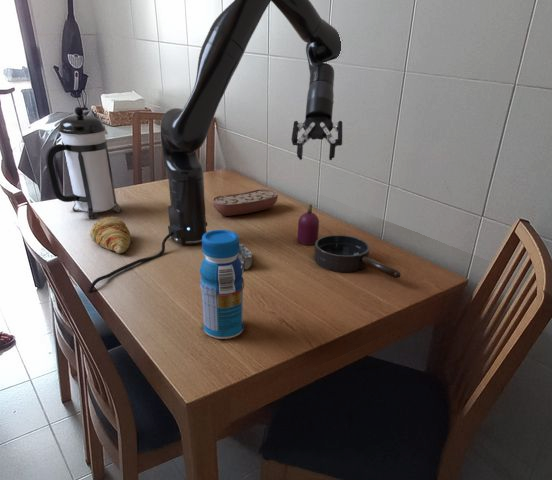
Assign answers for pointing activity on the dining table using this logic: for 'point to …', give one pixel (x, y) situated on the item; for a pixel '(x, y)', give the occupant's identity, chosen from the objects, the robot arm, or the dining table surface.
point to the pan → (340, 253)
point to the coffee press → (84, 164)
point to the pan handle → (381, 267)
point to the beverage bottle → (222, 284)
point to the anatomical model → (245, 202)
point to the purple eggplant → (308, 227)
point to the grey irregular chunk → (244, 256)
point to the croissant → (111, 234)
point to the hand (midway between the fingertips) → (315, 158)
